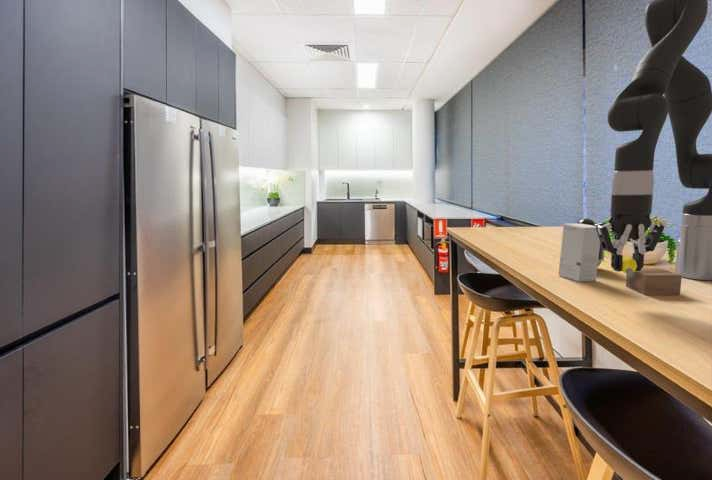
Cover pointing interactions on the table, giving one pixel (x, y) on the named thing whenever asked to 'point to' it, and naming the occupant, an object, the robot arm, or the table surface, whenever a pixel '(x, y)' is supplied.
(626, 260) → the light bulb
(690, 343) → the table surface
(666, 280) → the walnut block
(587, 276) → the skincare box
